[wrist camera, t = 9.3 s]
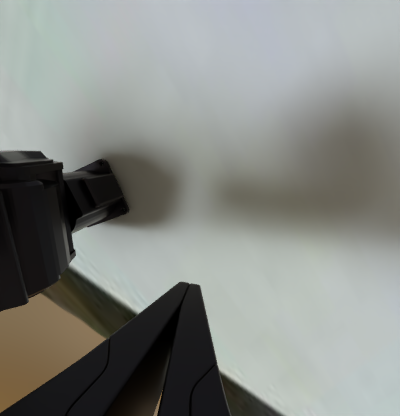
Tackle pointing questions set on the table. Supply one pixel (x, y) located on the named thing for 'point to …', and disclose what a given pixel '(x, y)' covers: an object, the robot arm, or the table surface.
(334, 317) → the table surface
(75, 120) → the table surface
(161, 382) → the robot arm
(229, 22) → the table surface
